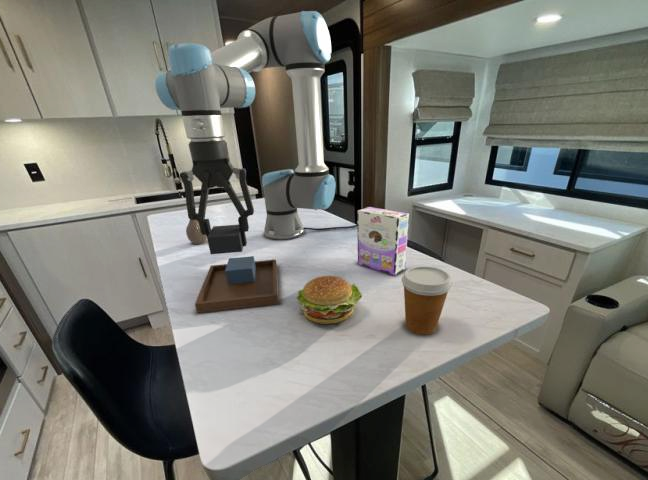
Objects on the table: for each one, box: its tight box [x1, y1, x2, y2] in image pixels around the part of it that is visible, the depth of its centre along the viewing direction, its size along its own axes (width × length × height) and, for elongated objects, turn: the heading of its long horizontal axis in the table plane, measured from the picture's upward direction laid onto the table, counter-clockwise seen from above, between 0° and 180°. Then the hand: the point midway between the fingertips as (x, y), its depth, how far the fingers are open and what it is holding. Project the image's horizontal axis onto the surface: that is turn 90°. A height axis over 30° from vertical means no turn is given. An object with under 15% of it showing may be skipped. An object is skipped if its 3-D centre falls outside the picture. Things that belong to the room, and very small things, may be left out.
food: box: [295, 275, 363, 325], centre depth 72 cm, size 14×14×8 cm
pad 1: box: [206, 224, 244, 255], centre depth 76 cm, size 7×9×4 cm
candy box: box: [356, 206, 410, 276], centre depth 91 cm, size 14×6×16 cm, turn 47°
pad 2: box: [225, 255, 256, 284], centre depth 89 cm, size 7×9×4 cm
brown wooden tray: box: [194, 259, 280, 314], centre depth 85 cm, size 19×23×2 cm
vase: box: [185, 219, 207, 245], centre depth 117 cm, size 7×7×9 cm
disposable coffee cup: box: [401, 265, 453, 336], centre depth 65 cm, size 10×10×12 cm
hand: (228, 245), depth 77 cm, fingers closed on pad 1, 7 cm apart
